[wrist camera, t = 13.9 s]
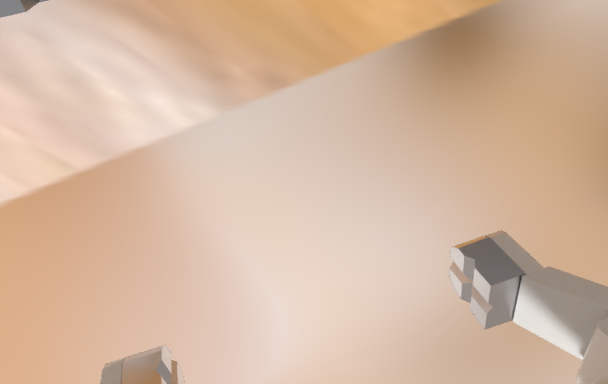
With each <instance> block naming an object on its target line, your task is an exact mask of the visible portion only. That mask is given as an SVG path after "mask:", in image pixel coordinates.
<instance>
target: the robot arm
mask: <svg viewBox="0 0 608 384" xmlns="http://www.w3.org/2000/svg"><path fill="white" fill-rule="evenodd" d="M450 257H451V259H452V260H453V261H454V262H453V264H452V265H451V267H450V268H449V269H450V271H449V276H450V279H451V283H452V286H453V287H454V289H455V291H456V292H457V294H458V295H459V297H460V298H461V299H463V300H465V301H467V302H470V303H471V306H470V311H471V313H472V314H473V315H474V316H475V318H476V319H477V320H478V322H479V323H480V324H481V325H482V327H483V328H484V329H488V328H491V327H494V326H496V325H500V324H503V323H506V322H508V321H512V320H513V322H514V323H516V324H518V325H520V326H522V327H524V328H525V329H527V330H529V331H531V332H532V333H534V334H536V335H538V336H540V337H541V338H543V339H545V340H547V341H548V342H551V343H552V344H554V345H556V346H558V347H559V348H561V349H563V350H565V351H567V352H568V353H570V354H572V355H574V356H576V357H578V358H579V359H581V360H582V363H581V366H580V368H579V370H578V373H577V377H576V381H577V382H578V383H579V384H608V287H607V286H604V285H601V284H598V283H595V282H592V281H589V280H586V279H584V278H581V277H578V276H575V275H572V274H569V273H566V272H564V271H561V270H558V269H555V268H552V267H546V268H544V267H543V266H542V265H541V264H539V263H538V262H537V261H536V260H535V259H534V258H533V257H532V256H531V255H530V254H529V253H528V252H526V251H525V250H524V249H523V248H522V247H521V246H520V245H519V244H518V243H517V242H516V241H515V240H514V239H512V238H511V237H510V236H509V235H508V234H507V233H506V232H504V231H502V230H501V231H498V232H495V233H492V234H489V235H486V236H482V237H479V238H476V239H474V240H471V241H468V242H465V243H462V244H459V245H457V246H454V247H452V249H451V250H450ZM100 384H185V382H184V377H183V373H182V371H181V368H180V366H179V364H178V363H177V362H176V361H173V360H171V351H170V350H169V349H168V347H167V346H166V345H164V346H160V347H157V348H154V349H151V350H148V351H144V352H141V353H138V354H134V355H131V356H128V357H125V358H122V359H119V360H116V361H113V362H110V363H107V364H105V366H104V368H103V370H102V375H101V383H100Z"/></svg>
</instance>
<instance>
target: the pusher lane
mask: <svg viewBox="0 0 608 384" xmlns="http://www.w3.org/2000/svg"><path fill="white" fill-rule="evenodd" d="M43 1H47V0H0V17H5V16H9V15H13V14H18V13H22V12H26V11H28V10H29V9H30V8H32V7H33V6H34V5H36V4H37V3H38V2H43Z"/></svg>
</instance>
